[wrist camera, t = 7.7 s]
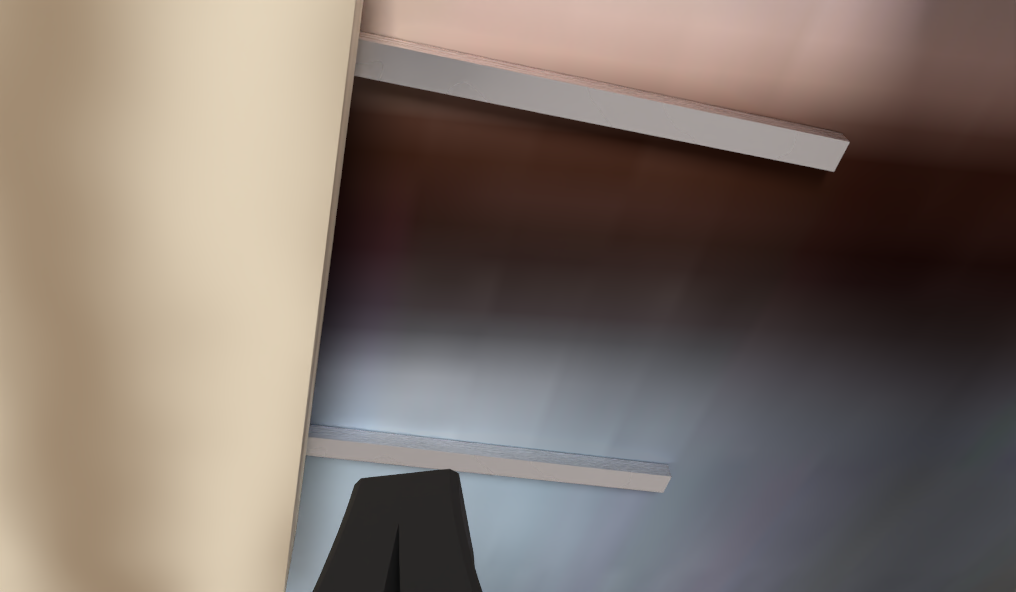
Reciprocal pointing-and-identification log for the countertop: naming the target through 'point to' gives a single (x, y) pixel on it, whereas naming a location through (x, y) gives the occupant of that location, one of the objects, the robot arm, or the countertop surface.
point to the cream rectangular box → (163, 284)
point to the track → (583, 104)
